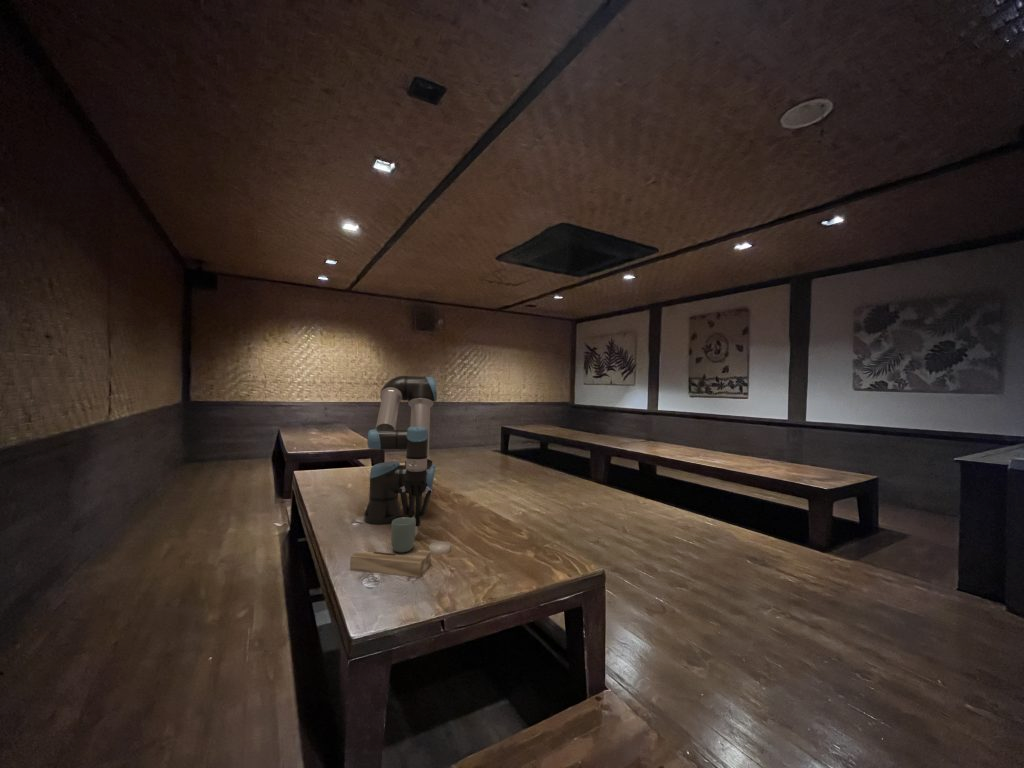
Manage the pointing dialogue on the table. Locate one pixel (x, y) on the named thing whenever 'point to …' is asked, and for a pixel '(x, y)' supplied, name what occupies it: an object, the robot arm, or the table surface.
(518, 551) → the table surface
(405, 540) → the cup
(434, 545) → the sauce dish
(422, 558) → the wooden block
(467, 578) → the table surface
